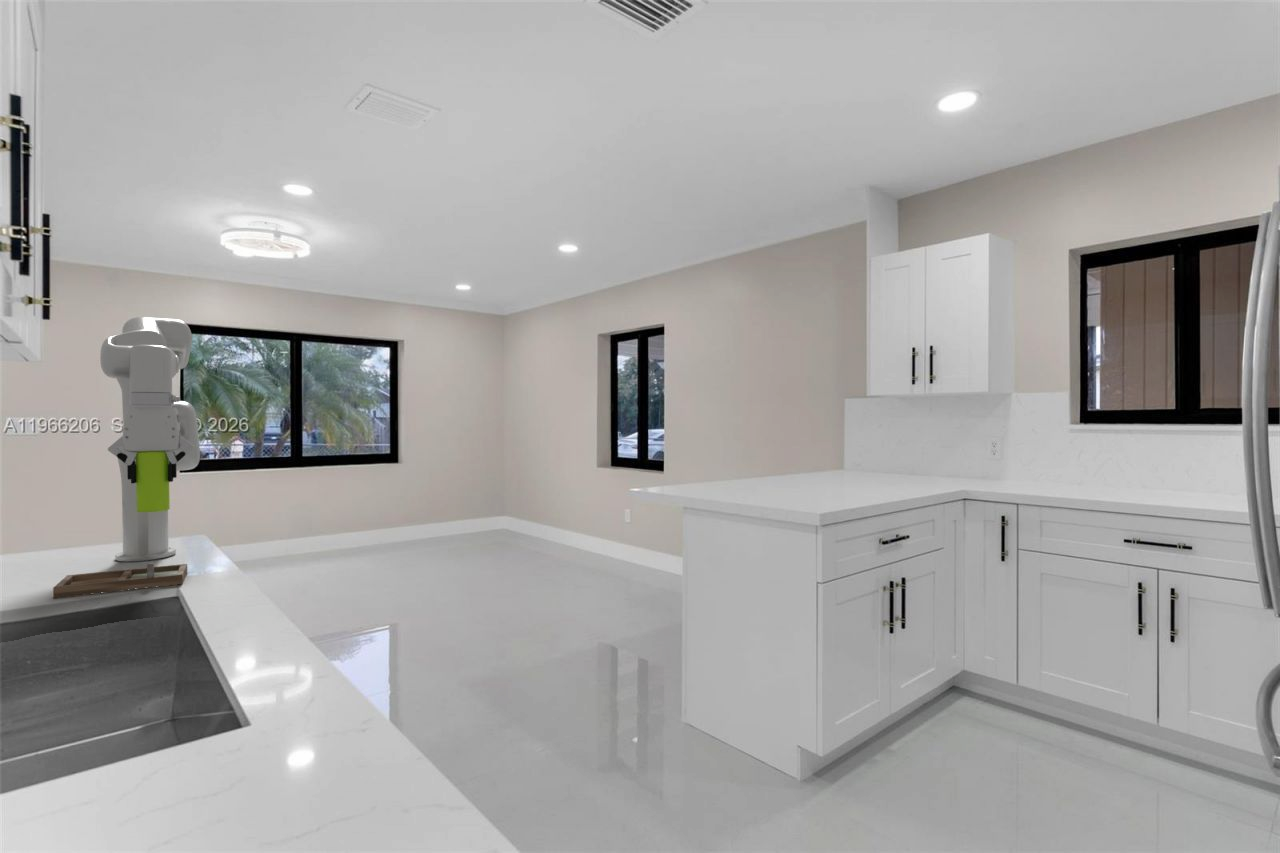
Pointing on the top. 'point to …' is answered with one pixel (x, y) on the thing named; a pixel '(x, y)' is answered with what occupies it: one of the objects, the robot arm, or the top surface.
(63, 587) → the wooden divided tray
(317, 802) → the top surface
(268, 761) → the top surface
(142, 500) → the soap dispenser
